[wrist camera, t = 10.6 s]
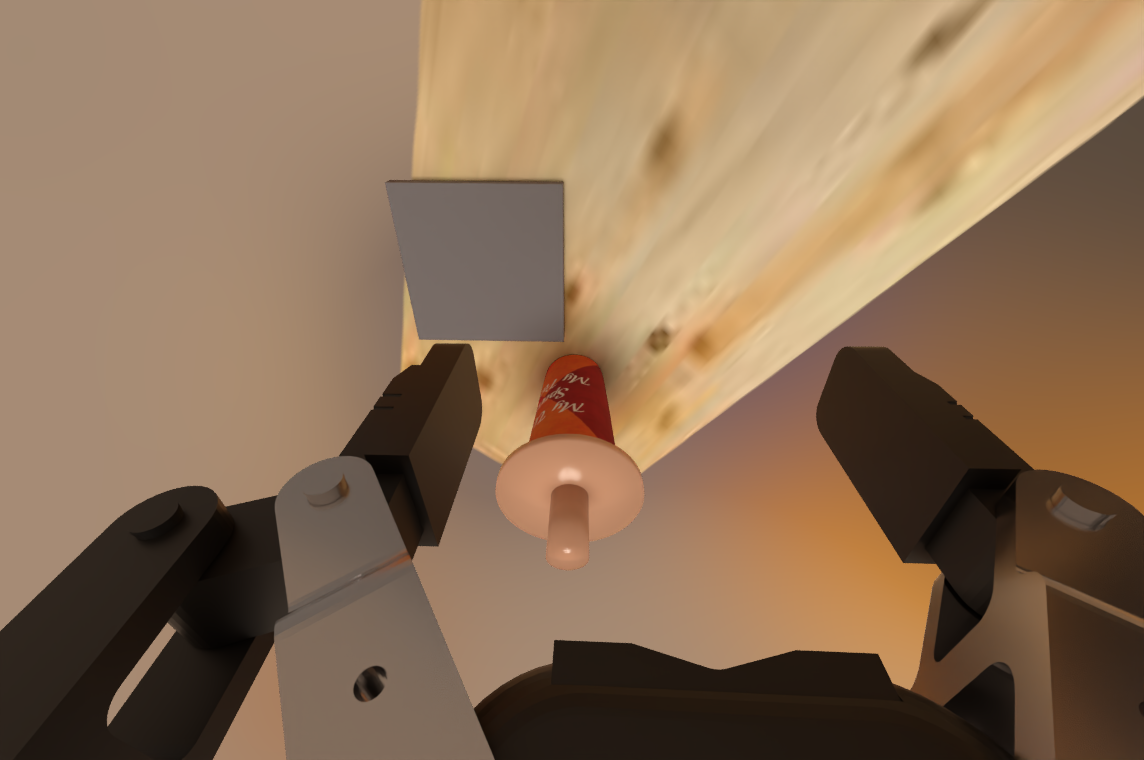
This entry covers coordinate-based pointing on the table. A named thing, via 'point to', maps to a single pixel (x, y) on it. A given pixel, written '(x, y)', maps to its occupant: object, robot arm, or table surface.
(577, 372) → the coffee cup
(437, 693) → the robot arm
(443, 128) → the table surface
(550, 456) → the lid
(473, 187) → the mat
